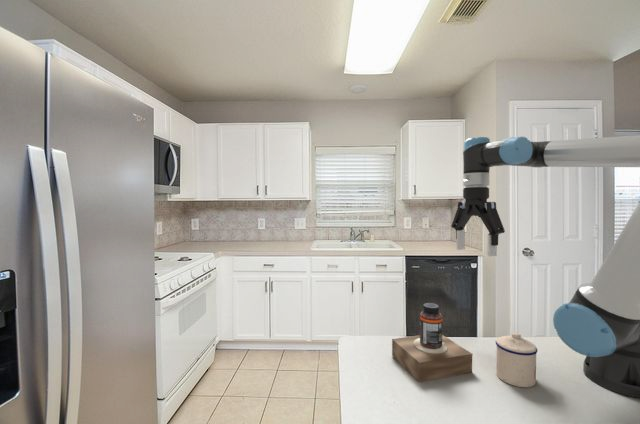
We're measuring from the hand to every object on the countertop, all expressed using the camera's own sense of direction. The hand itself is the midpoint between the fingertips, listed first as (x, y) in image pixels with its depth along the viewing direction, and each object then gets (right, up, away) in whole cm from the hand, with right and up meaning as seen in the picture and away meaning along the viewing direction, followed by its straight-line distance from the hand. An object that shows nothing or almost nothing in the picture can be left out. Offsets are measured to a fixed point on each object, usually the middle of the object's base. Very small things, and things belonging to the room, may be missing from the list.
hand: (475, 252), depth 102 cm
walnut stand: (-20, -29, -14) cm, 38 cm away
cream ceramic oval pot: (0, -30, -20) cm, 36 cm away
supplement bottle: (-19, -24, -14) cm, 34 cm away
